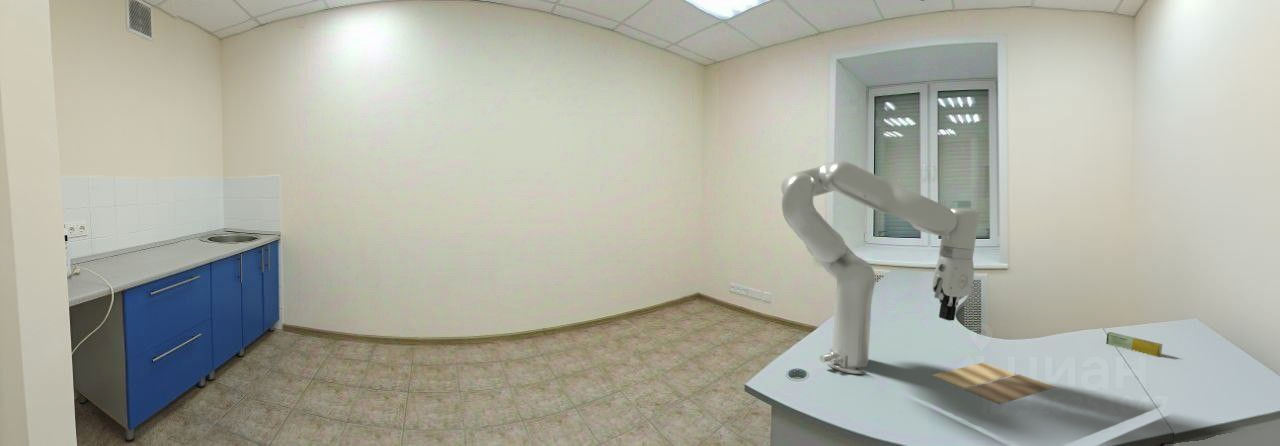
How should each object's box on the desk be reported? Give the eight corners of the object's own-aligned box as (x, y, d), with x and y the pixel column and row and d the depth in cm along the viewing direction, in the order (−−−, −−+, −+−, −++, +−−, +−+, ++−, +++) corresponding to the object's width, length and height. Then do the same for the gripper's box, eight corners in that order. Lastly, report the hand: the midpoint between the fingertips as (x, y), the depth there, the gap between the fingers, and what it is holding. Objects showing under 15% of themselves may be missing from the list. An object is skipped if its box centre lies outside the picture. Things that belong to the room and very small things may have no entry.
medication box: (1105, 344, 148) (1106, 332, 147) (1109, 343, 149) (1110, 331, 148) (1158, 357, 137) (1159, 345, 136) (1162, 356, 138) (1163, 343, 138)
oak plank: (962, 393, 112) (963, 388, 112) (931, 380, 120) (931, 375, 120) (1015, 378, 121) (1015, 373, 121) (983, 367, 128) (983, 362, 128)
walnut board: (998, 410, 105) (999, 403, 104) (963, 394, 112) (963, 389, 112) (1054, 392, 113) (1055, 386, 113) (1018, 379, 121) (1018, 374, 121)
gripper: (951, 256, 115) (941, 325, 117) (988, 256, 121) (978, 321, 123) (923, 251, 122) (914, 316, 124) (960, 251, 128) (950, 313, 130)
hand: (946, 318), depth 123 cm, fingers closed
